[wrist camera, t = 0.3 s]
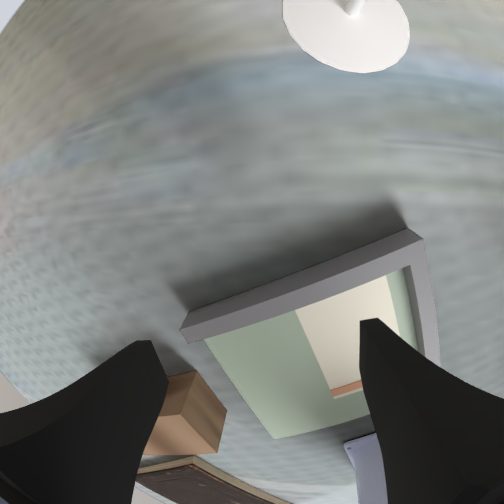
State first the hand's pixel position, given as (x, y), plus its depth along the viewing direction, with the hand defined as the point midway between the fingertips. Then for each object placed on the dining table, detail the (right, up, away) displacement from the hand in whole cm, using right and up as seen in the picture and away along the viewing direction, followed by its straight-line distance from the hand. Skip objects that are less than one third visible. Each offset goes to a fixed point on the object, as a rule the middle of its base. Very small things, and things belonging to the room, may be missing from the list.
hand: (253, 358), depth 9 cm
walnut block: (-7, -10, +15) cm, 20 cm away
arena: (+6, -5, +12) cm, 14 cm away
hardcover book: (-5, -33, +24) cm, 41 cm away
